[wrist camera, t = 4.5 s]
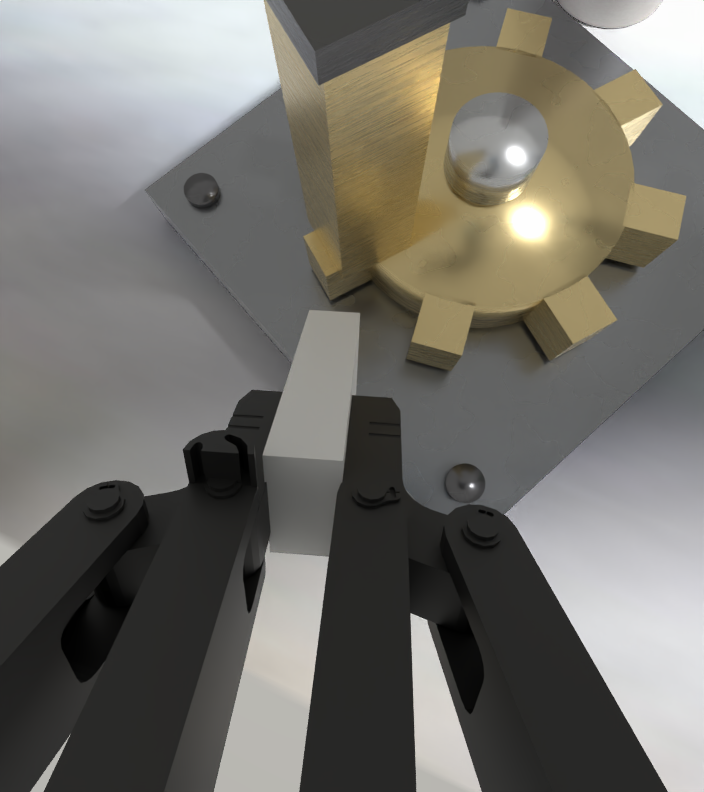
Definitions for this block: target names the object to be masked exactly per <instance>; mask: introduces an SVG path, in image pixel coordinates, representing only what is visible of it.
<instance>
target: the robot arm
mask: <svg viewBox="0 0 704 792" xmlns="http://www.w3.org/2000/svg"><path fill="white" fill-rule="evenodd" d="M359 326H360V313H354V312H337V311H320V310H309V312H308V316H307V319H306V322H305V325H304V328H303V331H302V334H301V337H300V340H299V343H298V346H297V350H296V353H295V356H294V359H293V362H292V365H291V368H290V371H289V374H288V377H287V381H286V384H285V387H284V390H283V392H275V391H260V390H251V391H250V392H249V393H248V394H247V395H245V396H244V397H243V398H242V399H241V400H239V402H238V404H237V406H236V409H235V411H234V413H233V417H232V418H231V420H230V422H229V424H228V428H227V429H226V430H219V431H212V432H208V433H205V434H201V435H200V436H198V437H196V438H195V439H193V440H191V441H190V442H189V443H188V444H187V445H186V446H185V448H184V449H183V453H184V458H185V463H186V468H187V474H188V479H189V484H188V486H187V487H185V488H183V489H181V490H177V491H173V492H169V493H163V494H157V495H151V496H145V497H144V494H143V493H142V491H141V490H140V488H139V486H137V485H135V484H133V483H131V482H127V481H117V480H115V481H109V482H103V483H99V484H97V485H94V486H92V487H89V488H87V489H86V490H84V491H83V492H81V493H80V494H79V495H77V496H76V497H75V498H73V499H72V500H71V501H70V502H69V503H68V504H67V505H66V506H65V507H64V508H63V509H62V510H61V511H59V512H58V513H57V514H56V515H55V516H54V517H53V518H52V519H51V520H50V521H49V522H48V523H47V524H45V525H44V526H43V527H42V528H41V529H40V530H39V531H38V532H37V533H36V534H35V535H34V536H33V537H31V538H30V539H29V540H28V541H27V542H26V543H25V544H24V545H23V546H22V547H21V548H20V549H19V550H17V551H16V552H15V553H14V554H13V555H12V556H11V557H10V558H9V559H8V560H7V561H6V562H5V563H4V564H2V565H1V566H0V792H30V791H31V789H32V788H33V787H34V785H35V784H36V782H37V781H38V780H39V778H40V777H41V775H42V774H43V772H44V771H45V770H46V768H47V766H48V765H49V764H50V762H51V761H52V760H53V758H54V757H55V755H56V754H57V752H58V751H59V750H60V748H61V747H62V745H63V744H64V742H65V741H66V740H67V738H68V737H69V735H70V734H71V735H70V737H69V739H68V741H67V743H66V746H65V748H64V750H63V752H62V754H61V756H60V758H59V760H58V763H57V765H56V767H55V769H54V771H53V773H52V775H51V777H50V779H49V782H48V784H47V786H46V788H45V790H44V792H214V788H215V783H216V779H217V775H218V771H219V767H220V762H221V758H222V754H223V750H224V746H225V741H226V737H227V733H228V729H229V725H230V720H231V716H232V712H233V708H234V703H235V700H236V695H237V691H238V687H239V683H240V679H241V674H242V670H243V666H244V662H245V658H246V653H247V649H248V645H249V641H250V637H251V633H252V628H253V624H254V620H255V616H256V612H257V607H258V603H259V599H260V595H261V591H262V586H263V582H264V578H265V552H266V549H267V545H268V541H269V543H270V552H278V553H291V554H304V555H317V556H329V561H328V569H327V577H326V585H325V592H324V600H323V608H322V616H321V624H320V632H319V640H318V648H317V656H316V664H315V672H314V680H313V688H312V696H311V704H310V712H309V719H308V727H307V736H306V744H305V751H304V759H303V768H302V776H301V783H300V791H299V792H416V770H415V769H416V768H415V739H414V709H413V680H412V650H411V621H410V613H412V614H414V615H417V616H419V617H422V618H424V619H427V621H428V625H429V629H430V632H431V635H432V638H433V641H434V644H435V647H436V650H437V653H438V657H439V660H440V663H441V666H442V669H443V672H444V675H445V678H446V681H447V685H448V688H449V691H450V694H451V697H452V700H453V703H454V706H455V709H456V713H457V716H458V719H459V722H460V725H461V728H462V731H463V734H464V737H465V740H466V744H467V747H468V750H469V753H470V756H471V759H472V762H473V765H474V768H475V772H476V775H477V778H478V781H479V784H480V787H481V790H482V792H668V791H667V790H666V788H665V786H664V784H663V783H662V781H661V779H660V777H659V776H658V774H657V772H656V770H655V769H654V767H653V765H652V763H651V762H650V760H649V758H648V756H647V755H646V753H645V751H644V749H643V748H642V746H641V744H640V742H639V741H638V739H637V737H636V735H635V734H634V732H633V730H632V729H631V727H630V725H629V723H628V722H627V720H626V718H625V716H624V715H623V713H622V711H621V709H620V708H619V706H618V704H617V702H616V701H615V699H614V697H613V695H612V694H611V692H610V690H609V688H608V687H607V685H606V683H605V681H604V680H603V678H602V676H601V674H600V673H599V671H598V669H597V667H596V666H595V664H594V662H593V661H592V659H591V657H590V655H589V654H588V652H587V650H586V648H585V647H584V645H583V643H582V641H581V640H580V638H579V636H578V634H577V633H576V631H575V629H574V627H573V626H572V624H571V622H570V620H569V619H568V617H567V615H566V613H565V612H564V610H563V608H562V606H561V605H560V603H559V601H558V600H557V598H556V596H555V594H554V593H553V591H552V589H551V587H550V586H549V584H548V582H547V580H546V579H545V577H544V575H543V573H542V572H541V570H540V568H539V566H538V565H537V563H536V561H535V559H534V558H533V556H532V554H531V552H530V551H529V549H528V547H527V545H526V544H525V542H524V540H523V538H522V537H521V535H520V533H519V532H518V530H517V528H516V527H515V525H514V524H513V523H512V522H511V521H510V519H509V518H508V517H506V516H505V515H503V514H502V513H500V512H499V511H497V510H496V509H493V508H490V507H487V506H483V505H471V504H468V505H464V506H461V507H457V508H455V509H454V510H453V511H452V512H450V513H449V514H448V515H446V514H443V513H440V512H437V511H434V510H432V509H429V508H427V507H425V506H422V505H421V504H419V503H418V502H416V501H415V500H414V499H413V498H412V497H411V496H410V495H409V494H408V493H407V491H406V489H405V487H404V484H403V479H402V446H401V413H400V409H399V407H398V406H397V405H396V403H395V402H394V400H393V399H392V398H388V397H373V396H357V395H356V386H357V366H358V346H359ZM71 732H72V733H71Z"/></svg>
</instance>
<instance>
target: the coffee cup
mask: <svg viewBox="0 0 704 792" xmlns="http://www.w3.org/2000/svg"><path fill="white" fill-rule="evenodd" d="M557 1H558V3H559V4H560V5H561V7H562V8H563V9H564V10H565V11H566V12H567V13H569V14H570V15H571V16H573V17H574V18H576V19H577V20H579V21H581V22H584V23H586V24H589V25H592V26H596V27H601V28H622V27H627V26H631V25H634V24H637V23H639V22H641V21H643V20H645V19H646V18H648V17H649V16H650V15H651V14H653V13H654V12H655V11H656V9H657V8H658V7H659V5H660V4H661V3H662V1H663V0H557Z"/></svg>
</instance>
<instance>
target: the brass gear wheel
mask: <svg viewBox="0 0 704 792" xmlns="http://www.w3.org/2000/svg"><path fill="white" fill-rule="evenodd" d="M468 1H469V0H264V4H265V9H266V14H267V19H268V24H269V29H270V34H271V39H272V43H273V48H274V53H275V58H276V63H277V68H278V73H279V78H280V83H281V88H282V93H283V98H284V103H285V108H286V113H287V117H288V122H289V127H290V132H291V137H292V142H293V147H294V152H295V157H296V162H297V167H298V172H299V177H300V182H301V187H302V191H303V196H304V201H305V206H306V211H307V216H308V221H309V223H310V225H311V226H312V228H313V230H314V231H313V232H311V233H309V234H307V235H305V236H303V238H304V242H305V246H306V250H307V255H308V259H309V263H310V266H311V267H312V269H313V271H314V273H315V274H316V276H317V278H318V280H319V282H320V283H321V285H322V287H323V289H324V290H325V292H326V294H327V296H328V297H329V299H330V301H331V300H333V299H335V298H337V297H338V296H340V295H342V294H344V293H346V292H348V291H350V290H352V289H354V288H356V287H358V286H360V285H362V284H364V283H366V282H368V281H369V280H371V279H372V281H373V282H374V283H375V284H376V285H377V286H378V287H379V288H380V289H381V290H382V291H383V292H384V293H386V294H387V295H388V296H389V297H390V298H391V299H393V300H394V301H396V302H397V303H399V304H400V305H402V306H403V307H405V308H406V309H408V310H410V311H412V312H414V313H416V314H418V315H419V316H418V319H417V323H416V326H415V330H414V333H413V336H412V340H411V343H410V347H409V350H408V354H407V357H406V359H408V360H412V361H416V362H419V363H423V364H426V365H430V366H433V367H437V368H440V369H444V370H448V371H452V369H453V368H454V366H455V365H456V363H457V362H458V361H459V359H460V358H461V356H462V354H463V350H464V346H465V342H466V339H467V335H468V331H469V327H471V328H486V327H498V326H504V325H510V324H514V323H517V322H520V321H524V322H525V323H526V325H527V327H528V328H529V330H530V331H531V333H532V334H533V336H534V337H535V339H536V341H537V342H538V344H539V345H540V347H541V348H542V350H543V351H544V353H545V355H546V356H547V358H548V359H549V361H551V360H553V359H554V358H556V357H558V356H560V355H562V354H564V353H565V352H567V351H569V350H571V349H573V348H575V347H576V346H578V345H580V344H582V343H584V342H586V341H587V340H589V339H591V338H592V337H594V336H595V335H596V334H598V333H599V332H601V331H602V330H604V329H605V328H607V327H608V326H609V325H611V324H612V323H614V322H615V321H617V318H616V317H615V315H614V314H613V313H612V311H611V310H610V308H609V307H608V305H607V304H606V302H605V301H604V299H603V298H602V296H601V295H600V294H599V292H598V291H597V289H596V288H595V286H594V285H593V283H592V282H591V280H590V279H589V277H588V275H589V274H591V273H592V272H593V271H594V270H595V269H596V268H597V267H598V266H599V264H600V263H601V262H602V261H603V260H604V259H605V258H607V259H611V260H615V261H619V262H623V263H627V264H631V265H635V266H639V267H643V268H644V267H645V266H646V265H648V264H649V263H650V262H651V261H653V260H654V259H655V258H656V257H657V256H659V255H660V254H661V253H662V252H664V251H665V250H666V249H667V248H668V247H670V246H671V245H672V244H673V243H675V242H676V241H677V240H678V237H679V232H680V227H681V221H682V216H683V211H684V206H685V201H686V196H685V195H681V194H677V193H673V192H669V191H664V190H660V189H656V188H652V187H648V186H644V185H640V184H636V183H634V166H633V160H632V154H631V151H630V148H629V146H631V145H632V144H633V143H634V142H635V140H636V139H637V138H638V136H639V135H640V134H641V132H642V131H643V130H644V129H645V127H646V126H647V125H648V123H649V122H650V121H651V119H652V118H653V117H654V115H655V114H656V113H657V112H658V110H659V109H660V108H661V106H662V105H663V104H662V103H661V101H660V100H659V99H658V98H657V96H656V95H655V94H654V92H653V91H652V90H651V89H650V87H649V86H648V85H647V83H646V82H645V81H644V79H643V78H642V77H641V76H640V74H639V73H638V72H637V70H636V69H635V70H633V71H631V72H629V73H627V74H625V75H623V76H621V77H619V78H617V79H615V80H613V81H611V82H609V83H607V84H605V85H603V86H601V87H599V88H597V89H595V90H593V89H592V88H591V87H590V86H589V85H588V84H587V83H586V82H585V81H583V80H582V79H581V78H579V77H578V76H576V75H575V74H574V73H572V72H571V71H569V70H567V69H566V68H564V67H562V66H560V65H558V64H557V63H555V62H553V61H550V60H548V59H545V58H543V57H542V55H543V51H544V47H545V43H546V40H547V36H548V32H549V28H550V25H551V21H552V18H550V17H546V16H541V15H537V14H532V13H528V12H523V11H519V10H514V9H510V8H507V12H506V15H505V18H504V22H503V25H502V29H501V32H500V35H499V39H498V42H497V46H496V47H492V46H473V47H462V48H456V49H449V50H445V48H446V43H447V37H448V32H449V26H450V22H452V21H455V20H457V19H459V18H461V17H463V16H465V15H466V10H467V5H468ZM494 92H501V93H509V94H513V95H516V96H519V97H521V98H523V99H525V100H527V101H528V102H530V103H531V104H532V105H534V106H535V107H536V108H537V109H538V110H539V112H540V113H541V114H542V116H543V118H544V120H545V122H546V125H547V129H548V144H547V148H546V151H545V153H544V155H543V157H542V159H541V161H540V163H539V165H538V166H537V168H536V170H535V172H534V174H533V176H532V178H531V180H530V182H529V183H528V185H527V187H526V188H525V190H524V191H523V192H522V193H521V194H520V195H519V196H517V197H516V198H514V199H513V200H511V201H508V202H506V203H503V204H499V205H480V204H476V203H473V202H470V201H468V200H466V199H464V198H463V197H461V196H460V195H459V194H457V193H456V192H455V191H454V190H453V188H452V187H451V186H450V184H449V183H448V181H447V179H446V176H445V173H444V156H445V152H446V148H447V144H448V140H449V135H450V131H451V127H452V123H453V120H454V118H455V116H456V114H457V112H458V111H459V110H460V108H461V107H462V106H463V105H464V104H466V103H467V102H468V101H470V100H471V99H473V98H475V97H477V96H480V95H483V94H487V93H494Z"/></svg>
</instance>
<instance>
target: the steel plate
mask: <svg viewBox="0 0 704 792" xmlns="http://www.w3.org/2000/svg"><path fill="white" fill-rule="evenodd" d="M507 8H510V9H514V10H519V11H523V12H528V13H532V14H537V15H541V16H546V17H550V18H552V21H551V25H550V28H549V32H548V36H547V40H546V43H545V47H544V51H543V55H542V57H543V58H545V59H548V60H550V61H553V62H555V63H557V64H558V65H560V66H562V67H564V68H566V69H567V70H569V71H571V72H572V73H574V74H575V75H576V76H578V77H579V78H581V79H582V80H583V81H585V82H586V83H587V84H588V85H589V86H590V87H591V88H592V89H593V90H595V89H597V88H599V87H601V86H603V85H605V84H607V83H609V82H611V81H613V80H615V79H617V78H619V77H621V76H623V75H625V74H627V73H629V72H631V71H633V69H632V68H631V67H629V66H628V65H627V64H626V63H625V62H624V61H622V60H621V59H620V58H619V57H618V56H617V55H615V54H614V53H613V52H612V51H611V50H610V49H608V48H607V47H606V46H605V45H604V44H603V43H601V42H600V41H599V40H598V39H597V38H595V37H594V36H593V35H592V34H591V33H590V32H588V31H587V30H586V29H585V28H584V27H583V26H581V25H580V24H579V23H578V22H577V21H576V20H574V19H573V18H572V17H571V16H570V15H568V14H567V13H566V12H565V11H564V10H563V9H561V8H560V7H559V6H558V5H557V4H556V3H554V2H553V1H552V0H469V1H468V5H467V10H466V15H465V16H463V17H461V18H459V19H457V20H455V21H452V22H450V26H449V32H448V37H447V43H446V48H445V50H449V49H456V48H462V47H473V46H492V47H496V46H497V42H498V39H499V35H500V32H501V29H502V25H503V22H504V18H505V15H506V12H507ZM643 79H644V78H643ZM644 81H645V82H646V83H647V85H648V86H649V87H650V89H651V90H652V91H653V92H654V94H655V95H656V96H657V98H658V99H659V100H660V101H661V103H662V104H663V105H662V106H661V108H660V109H659V110H658V112H657V113H656V114H655V115H654V117H653V118H652V119H651V121H650V122H649V123H648V125H647V126H646V127H645V129H644V130H643V131H642V132H641V134H640V135H639V136H638V138H637V139H636V140H635V142H634V143H633V144H632V145H631V146H629V148H630V151H631V154H632V160H633V166H634V183H636V184H640V185H644V186H648V187H652V188H656V189H660V190H664V191H669V192H673V193H677V194H681V195H685V196H686V201H685V206H684V211H683V216H682V221H681V227H680V232H679V237H678V240H677V241H676V242H675V243H673V244H672V245H671V246H670V247H668V248H667V249H666V250H665V251H664V252H662V253H661V254H660V255H659V256H657V257H656V258H655V259H654V260H653V261H651V262H650V263H649V264H648V265H646V266H645V267H644V268H643V267H639V266H635V265H631V264H627V263H623V262H619V261H615V260H611V259H607V258H605V259H604V260H603V261H602V262H601V263H600V264H599V266H598V267H597V268H596V269H595V270H594V271H593V272H592V273H591V274H589V275H588V277H589V279H590V280H591V282H592V283H593V285H594V286H595V288H596V289H597V291H598V292H599V294H600V295H601V296H602V298H603V299H604V301H605V302H606V304H607V305H608V307H609V308H610V310H611V311H612V313H613V314H614V315H615V317H616V318H617V321H615V322H614V323H612V324H611V325H609V326H608V327H607V328H605V329H604V330H602V331H601V332H599V333H598V334H596V335H595V336H594V337H592V338H591V339H589V340H587V341H586V342H584V343H582V344H580V345H578V346H576V347H575V348H573V349H571V350H569V351H567V352H565V353H564V354H562V355H560V356H558V357H556V358H554V359H553V360H551V361H549V359H548V358H547V356H546V355H545V353H544V351H543V350H542V348H541V347H540V345H539V344H538V342H537V341H536V339H535V337H534V336H533V334H532V333H531V331H530V330H529V328H528V327H527V325H526V323H525V322H524V321H520V322H517V323H514V324H510V325H504V326H498V327H486V328H471V327H469V331H468V335H467V339H466V342H465V346H464V350H463V354H462V356H461V358H460V359H459V361H458V362H457V363H456V365H455V366H454V368H453V369H452V371H448V370H444V369H440V368H437V367H433V366H430V365H426V364H423V363H419V362H416V361H412V360H408V359H406V357H407V354H408V350H409V347H410V343H411V340H412V336H413V333H414V330H415V326H416V323H417V319H418V316H419V315H418V314H416V313H414V312H412V311H410V310H408V309H406V308H405V307H403V306H402V305H400V304H399V303H397V302H396V301H394V300H393V299H391V298H390V297H389V296H388V295H387V294H386V293H384V292H383V291H382V290H381V289H380V288H379V287H378V286H377V285H376V284H375V283H374V282H373V281H372V279H371V280H369V281H368V282H366V283H364V284H362V285H360V286H358V287H356V288H354V289H352V290H350V291H348V292H346V293H344V294H342V295H340V296H338V297H337V298H335V299H333V300H331V301H330V299H329V297H328V296H327V294H326V292H325V290H324V289H323V287H322V285H321V283H320V282H319V280H318V278H317V276H316V274H315V273H314V271H313V269H312V267H311V266H310V263H309V259H308V255H307V250H306V246H305V242H304V238H303V236H305V235H307V234H309V233H311V232H313V231H314V230H313V228H312V226H311V225H310V223H309V221H308V216H307V211H306V206H305V201H304V196H303V191H302V187H301V182H300V177H299V172H298V167H297V162H296V157H295V152H294V147H293V142H292V137H291V132H290V127H289V122H288V117H287V113H286V108H285V103H284V98H283V93H282V88H281V89H279V90H278V91H277V92H275V93H274V94H273V95H271V96H270V97H269V98H267V99H266V100H265V101H263V102H262V103H261V104H259V105H258V106H257V107H255V108H254V109H253V110H251V111H250V112H249V113H247V114H246V115H245V116H243V117H242V118H241V119H239V120H238V121H237V122H235V123H234V124H233V125H231V126H230V127H229V128H227V129H226V130H225V131H223V132H222V133H221V134H219V135H218V136H217V137H215V138H214V139H213V140H211V141H210V142H208V143H207V144H206V145H204V146H203V147H202V148H200V149H199V150H198V151H196V152H195V153H194V154H192V155H191V156H190V157H188V158H187V159H186V160H184V161H183V162H182V163H180V164H179V165H178V166H176V167H175V168H174V169H172V170H171V171H170V172H168V173H167V174H166V175H164V176H163V177H162V178H160V179H159V180H158V181H156V182H155V183H154V184H152V185H151V186H150V187H148V188H147V189H146V190H145V191H146V192H147V194H148V195H149V196H150V198H151V199H152V201H153V202H154V203H155V205H156V206H157V208H158V209H159V210H160V212H161V213H162V215H163V216H164V217H165V219H166V220H167V221H168V222H169V223H170V224H171V226H172V227H173V228H174V229H175V230H176V231H177V232H178V234H179V235H180V236H181V237H182V238H183V239H184V240H185V242H186V243H187V244H188V245H189V246H190V247H191V249H192V250H193V251H194V252H195V253H196V254H197V255H198V257H199V258H200V259H201V260H202V261H203V262H204V263H205V265H206V266H207V267H208V268H209V269H210V270H211V272H212V273H213V274H214V275H215V276H216V277H217V278H218V280H219V281H220V282H221V283H222V284H223V285H224V286H225V288H226V289H227V290H228V291H229V292H230V293H231V295H232V296H233V297H234V298H235V299H236V300H237V301H238V303H239V304H240V305H241V306H242V307H243V308H244V309H245V311H246V312H247V313H248V314H249V315H250V316H251V318H252V319H253V320H254V321H255V322H256V323H257V324H258V326H259V327H260V328H261V329H262V330H263V331H264V332H265V334H266V335H267V336H268V337H269V338H270V339H271V341H272V342H273V343H274V344H275V345H276V346H277V347H278V349H279V350H280V351H281V352H282V353H283V354H284V355H285V357H286V358H287V359H288V360H289V361H290V362H291V364H292V362H293V359H294V356H295V353H296V350H297V346H298V343H299V340H300V337H301V334H302V331H303V328H304V325H305V322H306V319H307V316H308V312H309V310H320V311H337V312H354V313H360V326H359V346H358V366H357V386H356V395H357V396H373V397H388V398H392V399H393V400H394V402H395V403H396V405H397V406H398V407H399V409H400V413H401V446H402V479H403V484H404V487H405V489H406V491H407V493H408V494H409V495H410V496H411V497H412V498H413V499H414V500H415V501H416V502H418V503H419V504H421V505H422V506H425V507H427V508H429V509H432V510H434V511H437V512H440V513H443V514H446V515H448V514H449V513H450V512H452V511H453V510H454V509H455V508H457V507H461V506H464V505H468V504H471V505H483V506H487V507H490V508H493V509H496V510H497V511H499V512H500V513H502V514H503V515H504V514H505V513H506V512H507V511H508V510H509V509H510V508H511V507H513V506H514V505H515V504H516V503H517V502H518V501H519V500H520V499H521V498H522V497H523V496H524V495H525V494H527V493H528V492H529V491H530V490H531V489H532V488H533V487H534V486H535V485H536V484H537V483H538V482H539V481H541V480H542V479H543V478H544V477H545V476H546V475H547V474H548V473H549V472H550V471H551V470H552V469H554V468H555V467H556V466H557V465H558V464H559V463H560V462H561V461H562V460H563V459H564V458H565V457H566V456H568V455H569V454H570V453H571V452H572V451H573V450H574V449H575V448H576V447H577V446H578V445H579V444H581V443H582V442H583V441H584V440H585V439H586V438H587V437H588V436H589V435H590V434H591V433H592V432H593V431H595V430H596V429H597V428H598V427H599V426H600V425H601V424H602V423H603V422H604V421H605V420H606V419H608V418H609V417H610V416H611V415H612V414H613V413H614V412H615V411H616V410H617V409H618V408H619V407H620V406H622V405H623V404H624V403H625V402H626V401H627V400H628V399H629V398H630V397H631V396H632V395H633V394H634V393H636V392H637V391H638V390H639V389H640V388H641V387H642V386H643V385H644V384H645V383H646V382H647V381H649V380H650V379H651V378H652V377H653V376H654V375H655V374H656V373H657V372H658V371H659V370H660V369H661V368H663V367H664V366H665V365H666V364H667V363H668V362H669V361H670V360H671V359H672V358H673V357H674V356H676V355H677V354H678V353H679V352H680V351H681V350H682V349H683V348H684V347H685V346H686V345H687V344H688V343H690V342H691V341H692V340H693V339H694V338H695V337H696V336H697V335H698V334H699V333H700V332H701V331H702V330H704V130H703V129H702V128H701V127H700V126H699V125H698V124H696V123H695V122H694V121H693V120H692V119H690V118H689V117H688V116H687V115H686V114H685V113H683V112H682V111H681V110H680V109H679V108H678V107H676V106H675V105H674V104H673V103H672V102H671V101H669V100H668V99H667V98H666V97H665V96H663V95H662V94H661V93H660V92H659V91H658V90H656V89H655V88H654V87H653V86H652V85H651V84H649V83H648V82H647V81H646V80H645V79H644ZM547 144H548V129H547V125H546V122H545V120H544V118H543V116H542V114H541V113H540V112H539V110H538V109H537V108H536V107H535V106H534V105H532V104H531V103H530V102H528V101H527V100H525V99H523V98H521V97H519V96H516V95H513V94H509V93H501V92H494V93H487V94H483V95H480V96H477V97H475V98H473V99H471V100H470V101H468V102H467V103H466V104H464V105H463V106H462V107H461V108H460V110H459V111H458V112H457V114H456V116H455V118H454V120H453V123H452V127H451V131H450V135H449V140H448V144H447V148H446V152H445V156H444V173H445V176H446V179H447V181H448V183H449V184H450V186H451V187H452V188H453V190H454V191H455V192H456V193H457V194H459V195H460V196H461V197H463V198H464V199H466V200H468V201H470V202H473V203H476V204H480V205H499V204H503V203H506V202H508V201H511V200H513V199H514V198H516V197H517V196H519V195H520V194H521V193H522V192H523V191H524V190H525V188H526V187H527V185H528V183H529V182H530V180H531V178H532V176H533V174H534V172H535V170H536V168H537V166H538V165H539V163H540V161H541V159H542V157H543V155H544V153H545V151H546V148H547Z"/></svg>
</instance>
